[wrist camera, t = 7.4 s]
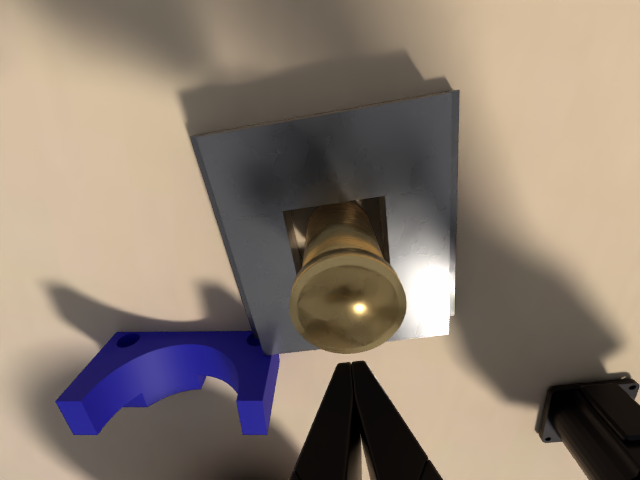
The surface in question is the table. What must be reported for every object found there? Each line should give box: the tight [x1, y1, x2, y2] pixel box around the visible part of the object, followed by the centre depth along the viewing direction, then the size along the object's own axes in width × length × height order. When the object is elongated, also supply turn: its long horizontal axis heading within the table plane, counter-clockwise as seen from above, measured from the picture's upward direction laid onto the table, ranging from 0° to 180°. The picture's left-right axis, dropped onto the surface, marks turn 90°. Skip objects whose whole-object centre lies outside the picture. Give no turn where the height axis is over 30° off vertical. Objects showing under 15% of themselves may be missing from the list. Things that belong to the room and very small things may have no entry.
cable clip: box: [55, 331, 280, 435], centre depth 21 cm, size 12×4×6 cm, turn 91°
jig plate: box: [190, 90, 459, 355], centre depth 18 cm, size 14×14×2 cm
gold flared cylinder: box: [289, 201, 407, 354], centre depth 16 cm, size 5×5×8 cm
